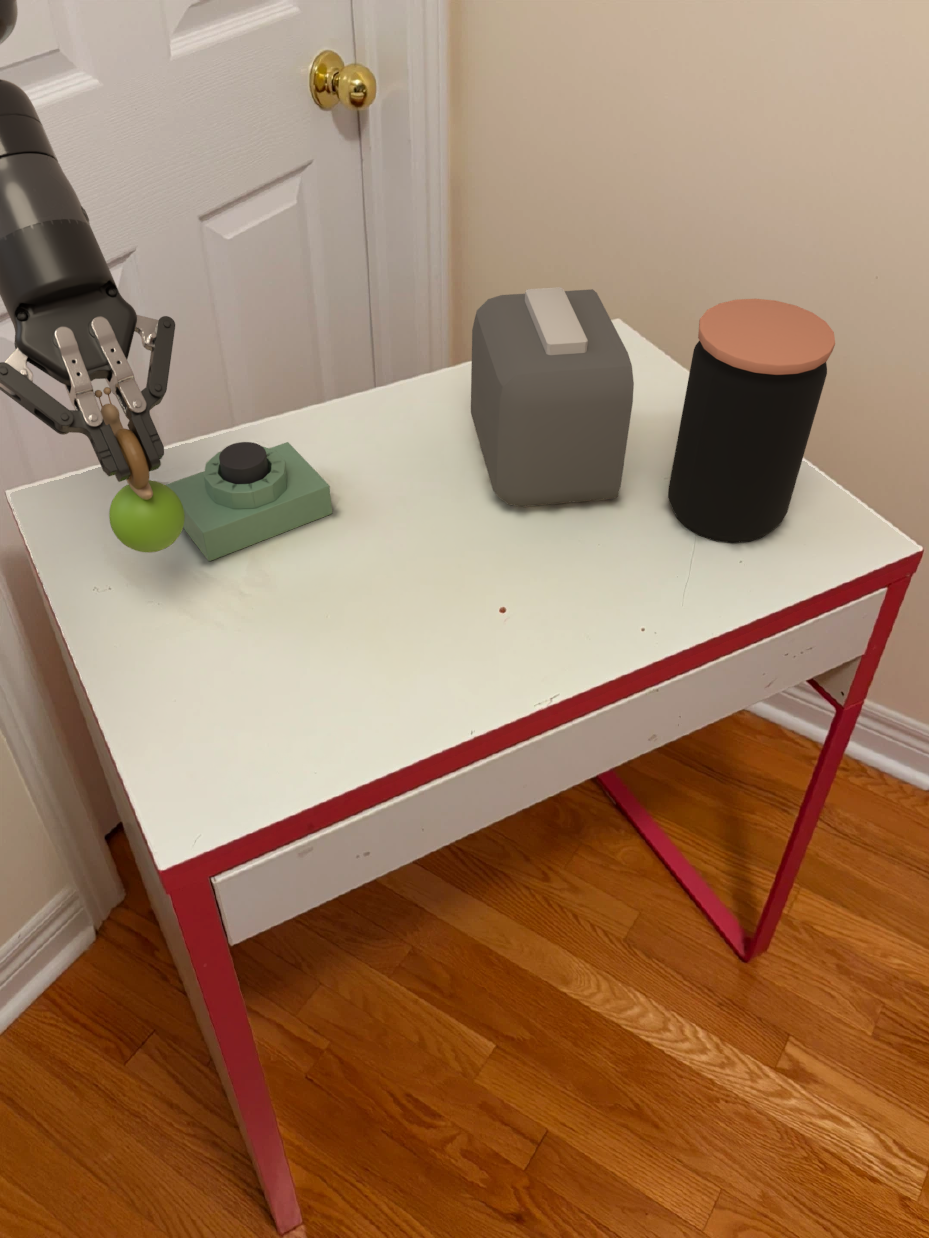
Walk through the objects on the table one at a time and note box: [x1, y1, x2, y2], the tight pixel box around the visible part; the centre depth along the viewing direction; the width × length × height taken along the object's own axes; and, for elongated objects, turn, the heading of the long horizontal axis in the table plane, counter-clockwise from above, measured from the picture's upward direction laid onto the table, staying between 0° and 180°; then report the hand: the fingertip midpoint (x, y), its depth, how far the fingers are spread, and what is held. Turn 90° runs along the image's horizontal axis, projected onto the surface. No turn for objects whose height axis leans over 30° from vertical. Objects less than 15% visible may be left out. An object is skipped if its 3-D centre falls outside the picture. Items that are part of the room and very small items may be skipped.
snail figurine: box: [94, 386, 185, 553], centre depth 77 cm, size 5×6×12 cm
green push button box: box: [165, 441, 333, 562], centre depth 92 cm, size 12×8×5 cm, turn 124°
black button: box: [219, 441, 269, 484], centre depth 90 cm, size 4×4×2 cm
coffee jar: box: [667, 298, 836, 544], centre depth 89 cm, size 11×11×18 cm
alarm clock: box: [470, 286, 635, 508], centre depth 95 cm, size 16×11×16 cm
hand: (139, 472), depth 74 cm, fingers closed on snail figurine
